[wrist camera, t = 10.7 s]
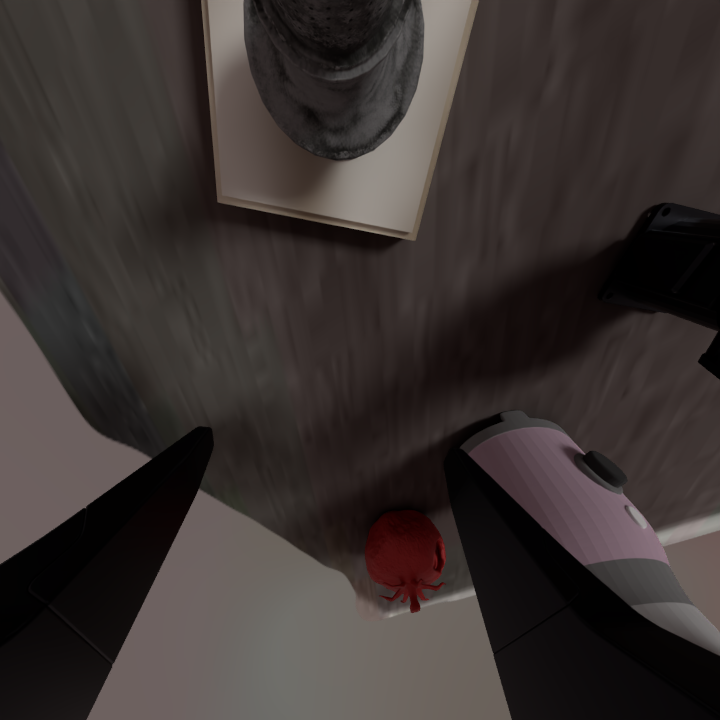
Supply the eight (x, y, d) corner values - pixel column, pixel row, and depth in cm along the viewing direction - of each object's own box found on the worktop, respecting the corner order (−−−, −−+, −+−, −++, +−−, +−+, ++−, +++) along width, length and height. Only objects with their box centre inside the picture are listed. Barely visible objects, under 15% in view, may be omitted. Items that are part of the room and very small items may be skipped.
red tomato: (355, 536, 38) (356, 626, 30) (376, 496, 33) (383, 592, 25) (420, 543, 40) (437, 630, 32) (449, 506, 34) (478, 599, 27)
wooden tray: (474, -31, 12) (502, -80, 10) (408, 236, 17) (416, 241, 15) (213, -122, 10) (179, -204, 8) (231, 201, 16) (214, 202, 14)
